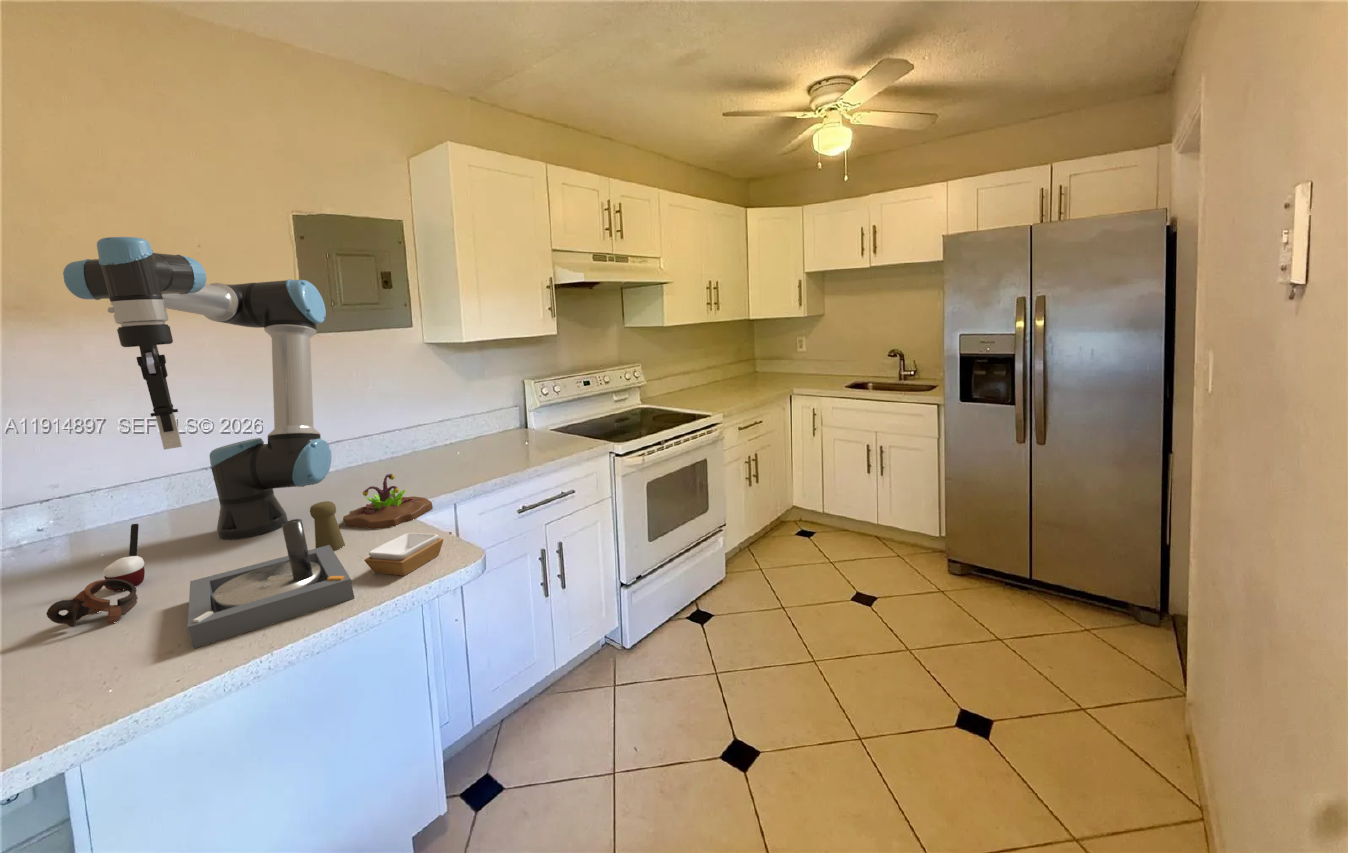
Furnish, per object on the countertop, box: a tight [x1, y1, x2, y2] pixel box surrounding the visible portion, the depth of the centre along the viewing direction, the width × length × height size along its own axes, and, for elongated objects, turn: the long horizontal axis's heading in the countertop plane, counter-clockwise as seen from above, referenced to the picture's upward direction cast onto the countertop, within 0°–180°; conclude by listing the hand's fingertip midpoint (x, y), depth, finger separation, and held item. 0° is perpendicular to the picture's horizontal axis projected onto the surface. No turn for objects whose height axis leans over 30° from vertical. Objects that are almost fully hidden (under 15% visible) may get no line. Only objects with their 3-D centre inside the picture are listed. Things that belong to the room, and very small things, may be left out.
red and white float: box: [102, 523, 146, 592], centre depth 126 cm, size 10×6×12 cm, turn 156°
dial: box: [213, 518, 322, 611], centre depth 114 cm, size 17×17×13 cm
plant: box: [342, 473, 434, 530], centre depth 161 cm, size 20×20×11 cm
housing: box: [187, 545, 355, 650], centre depth 115 cm, size 24×24×4 cm
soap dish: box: [363, 532, 444, 577], centre depth 127 cm, size 12×10×5 cm
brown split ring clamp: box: [45, 578, 138, 628], centre depth 111 cm, size 12×10×8 cm
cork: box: [309, 500, 346, 552], centre depth 139 cm, size 6×6×11 cm
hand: (173, 447), depth 117 cm, fingers closed
